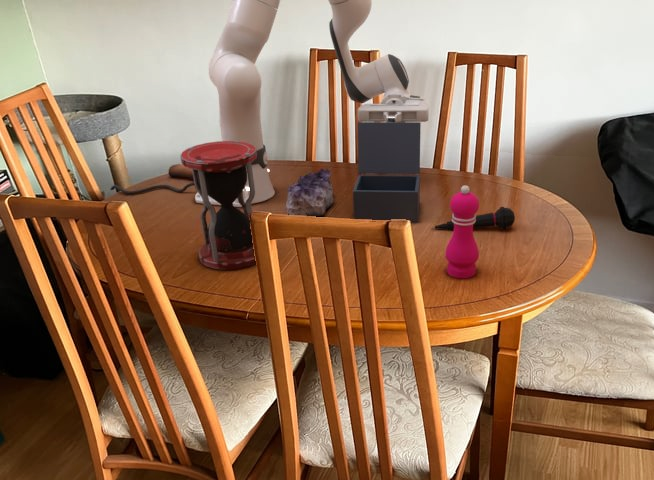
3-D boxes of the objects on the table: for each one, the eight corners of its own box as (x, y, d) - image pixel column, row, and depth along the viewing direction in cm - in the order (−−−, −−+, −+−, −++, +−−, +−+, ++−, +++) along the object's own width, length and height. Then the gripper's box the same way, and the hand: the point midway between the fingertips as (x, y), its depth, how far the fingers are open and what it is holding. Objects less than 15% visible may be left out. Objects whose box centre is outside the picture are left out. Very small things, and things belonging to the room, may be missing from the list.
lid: (420, 122, 162) (420, 122, 163) (357, 122, 163) (358, 122, 164) (419, 173, 166) (419, 173, 167) (358, 173, 168) (358, 172, 169)
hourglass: (185, 264, 142) (164, 158, 130) (224, 236, 155) (208, 137, 143) (246, 275, 137) (230, 166, 125) (281, 244, 150) (270, 143, 138)
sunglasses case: (232, 174, 194) (222, 159, 188) (222, 191, 191) (212, 177, 185) (185, 168, 200) (175, 154, 195) (175, 185, 197) (164, 171, 192)
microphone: (436, 242, 156) (516, 232, 155) (435, 226, 152) (516, 215, 150) (434, 228, 160) (512, 217, 158) (432, 211, 156) (512, 200, 154)
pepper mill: (442, 265, 139) (444, 180, 129) (473, 263, 140) (479, 178, 130) (447, 280, 133) (451, 192, 123) (480, 278, 133) (486, 191, 123)
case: (417, 222, 160) (417, 192, 156) (354, 221, 162) (352, 191, 158) (419, 203, 171) (419, 175, 167) (360, 203, 173) (358, 174, 168)
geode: (302, 192, 180) (304, 159, 176) (340, 200, 179) (343, 166, 174) (278, 217, 163) (280, 181, 158) (320, 225, 162) (323, 189, 157)
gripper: (359, 97, 181) (353, 108, 170) (429, 96, 180) (428, 108, 168) (360, 118, 185) (354, 131, 173) (429, 118, 183) (427, 131, 171)
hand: (391, 120), depth 170 cm, fingers closed
